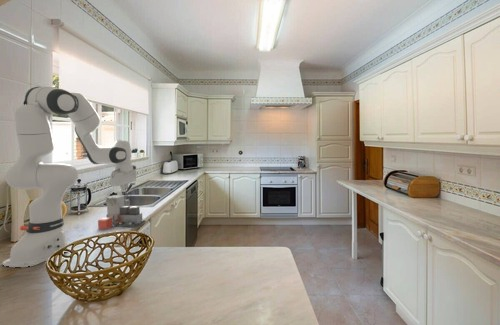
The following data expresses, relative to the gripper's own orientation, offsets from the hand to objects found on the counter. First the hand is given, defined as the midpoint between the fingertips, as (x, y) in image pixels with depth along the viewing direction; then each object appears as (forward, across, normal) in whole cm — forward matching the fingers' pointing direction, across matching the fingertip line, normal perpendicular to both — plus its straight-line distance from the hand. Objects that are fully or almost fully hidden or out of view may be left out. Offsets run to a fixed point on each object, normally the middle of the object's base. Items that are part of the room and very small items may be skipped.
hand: (124, 191), depth 150 cm
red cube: (+19, -8, +7) cm, 22 cm away
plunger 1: (+15, 0, 0) cm, 15 cm away
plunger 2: (+15, 0, -6) cm, 16 cm away
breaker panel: (+19, 0, -3) cm, 19 cm away
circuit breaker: (+20, +8, +9) cm, 23 cm away
